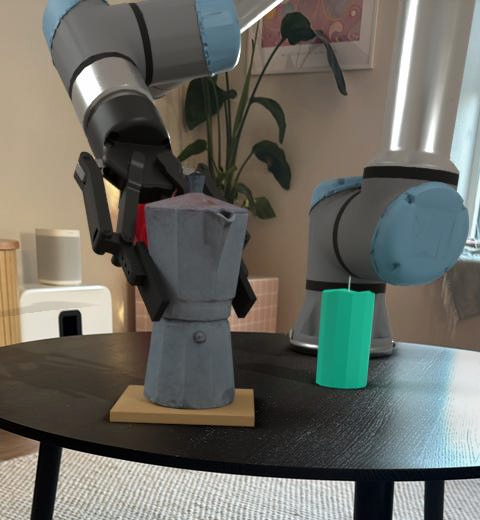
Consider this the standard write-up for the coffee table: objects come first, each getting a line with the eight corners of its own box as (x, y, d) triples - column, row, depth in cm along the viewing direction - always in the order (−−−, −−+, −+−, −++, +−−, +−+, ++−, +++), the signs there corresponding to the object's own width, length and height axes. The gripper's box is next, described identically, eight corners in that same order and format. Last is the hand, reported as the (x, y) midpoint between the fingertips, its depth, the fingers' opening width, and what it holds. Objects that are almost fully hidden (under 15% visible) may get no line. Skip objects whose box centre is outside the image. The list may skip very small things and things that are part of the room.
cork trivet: (252, 398, 79) (253, 389, 79) (254, 426, 68) (254, 416, 67) (129, 394, 79) (128, 384, 79) (109, 421, 68) (109, 411, 67)
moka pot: (182, 421, 65) (184, 165, 57) (107, 387, 76) (101, 171, 69) (272, 411, 70) (285, 174, 62) (189, 380, 81) (191, 178, 74)
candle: (355, 390, 85) (366, 279, 80) (307, 384, 87) (314, 275, 83) (374, 382, 89) (384, 277, 85) (327, 376, 92) (335, 274, 88)
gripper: (199, 163, 82) (280, 331, 76) (8, 146, 71) (84, 342, 65) (227, 104, 76) (318, 280, 70) (23, 74, 65) (109, 282, 59)
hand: (205, 310), depth 67 cm, fingers closed on moka pot, 8 cm apart
